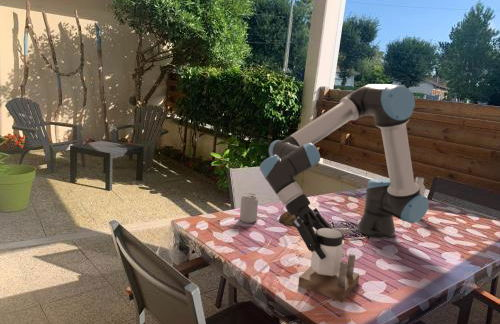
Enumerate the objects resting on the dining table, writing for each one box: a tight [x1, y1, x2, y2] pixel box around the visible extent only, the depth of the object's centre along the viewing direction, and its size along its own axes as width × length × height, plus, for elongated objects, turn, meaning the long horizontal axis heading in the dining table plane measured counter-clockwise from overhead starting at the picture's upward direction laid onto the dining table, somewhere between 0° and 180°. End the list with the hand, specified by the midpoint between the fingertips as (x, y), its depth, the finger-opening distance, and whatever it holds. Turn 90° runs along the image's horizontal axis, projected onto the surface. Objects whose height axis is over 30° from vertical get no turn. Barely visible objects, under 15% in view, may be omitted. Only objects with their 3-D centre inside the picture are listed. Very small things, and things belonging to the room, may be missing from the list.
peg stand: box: [298, 253, 360, 303], centre depth 116 cm, size 14×14×10 cm
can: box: [239, 192, 259, 224], centre depth 166 cm, size 8×8×12 cm
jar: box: [310, 228, 344, 276], centre depth 115 cm, size 9×8×12 cm
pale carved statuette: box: [414, 176, 426, 196], centre depth 183 cm, size 6×7×20 cm
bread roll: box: [277, 210, 296, 227], centre depth 169 cm, size 13×12×5 cm
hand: (337, 262), depth 114 cm, fingers closed on jar, 8 cm apart
